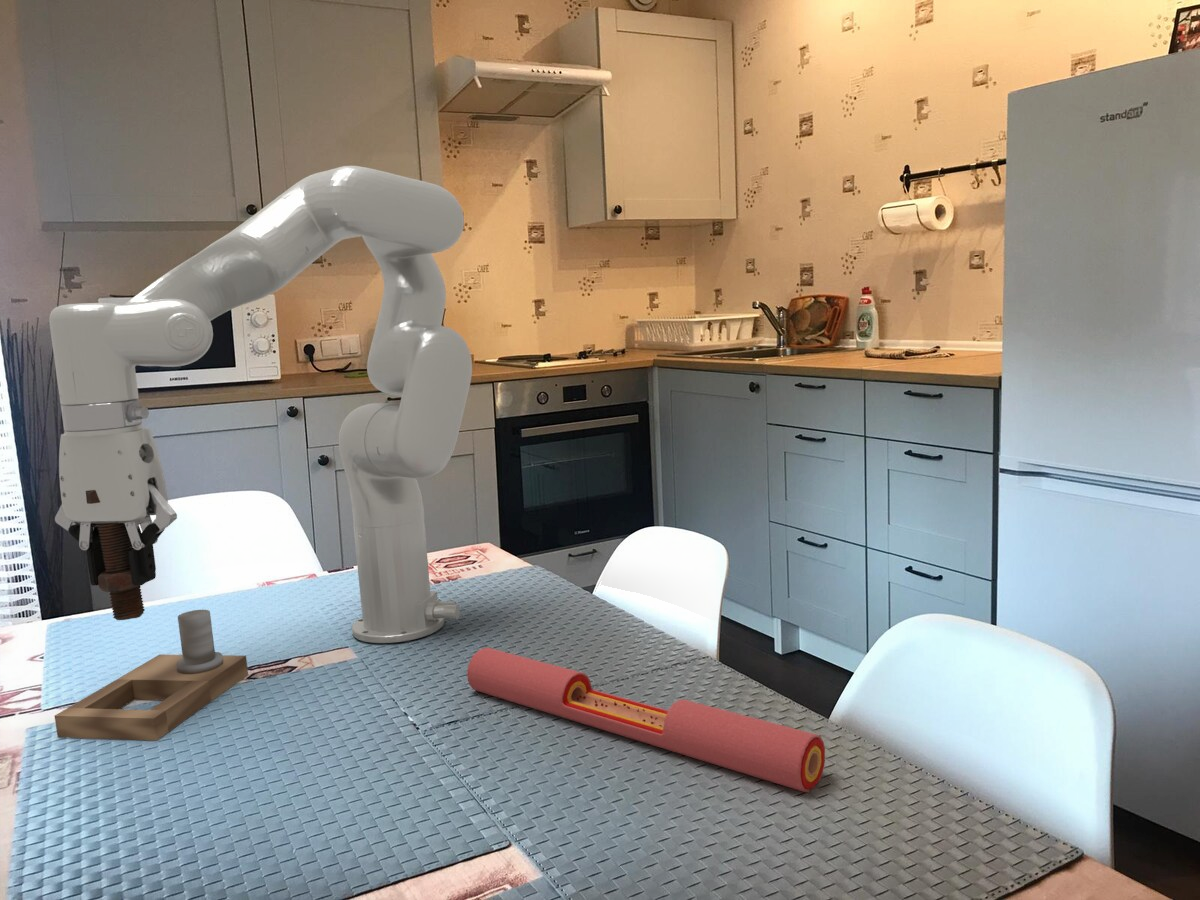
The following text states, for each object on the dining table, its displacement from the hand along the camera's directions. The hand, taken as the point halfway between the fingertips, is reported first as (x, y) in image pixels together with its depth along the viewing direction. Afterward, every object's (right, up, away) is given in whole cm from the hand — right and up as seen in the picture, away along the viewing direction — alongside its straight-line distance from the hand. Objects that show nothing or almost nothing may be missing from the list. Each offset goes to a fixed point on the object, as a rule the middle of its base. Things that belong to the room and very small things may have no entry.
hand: (123, 580), depth 104 cm
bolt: (0, -4, 0) cm, 4 cm away
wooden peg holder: (+1, -15, +5) cm, 16 cm away
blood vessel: (+56, -15, -8) cm, 58 cm away
